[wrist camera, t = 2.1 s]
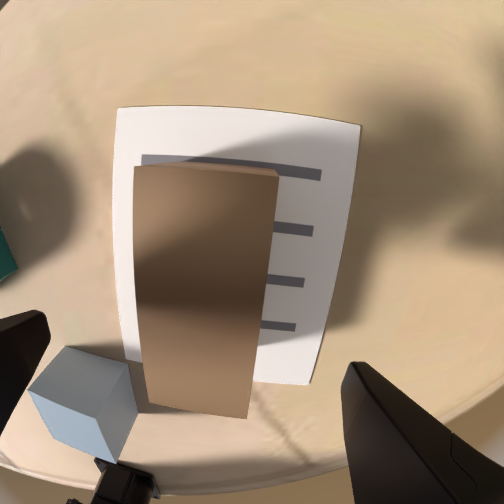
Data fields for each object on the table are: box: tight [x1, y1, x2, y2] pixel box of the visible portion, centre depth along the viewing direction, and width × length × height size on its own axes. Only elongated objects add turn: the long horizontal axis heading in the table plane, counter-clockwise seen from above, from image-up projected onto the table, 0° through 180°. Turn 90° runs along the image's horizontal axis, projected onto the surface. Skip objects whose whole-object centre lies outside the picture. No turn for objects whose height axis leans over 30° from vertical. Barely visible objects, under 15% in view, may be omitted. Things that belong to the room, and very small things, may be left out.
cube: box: [27, 346, 138, 464], centre depth 15 cm, size 5×5×5 cm
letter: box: [112, 106, 361, 385], centre depth 14 cm, size 14×11×1 cm
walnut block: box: [133, 161, 279, 419], centre depth 11 cm, size 9×4×5 cm, turn 174°
